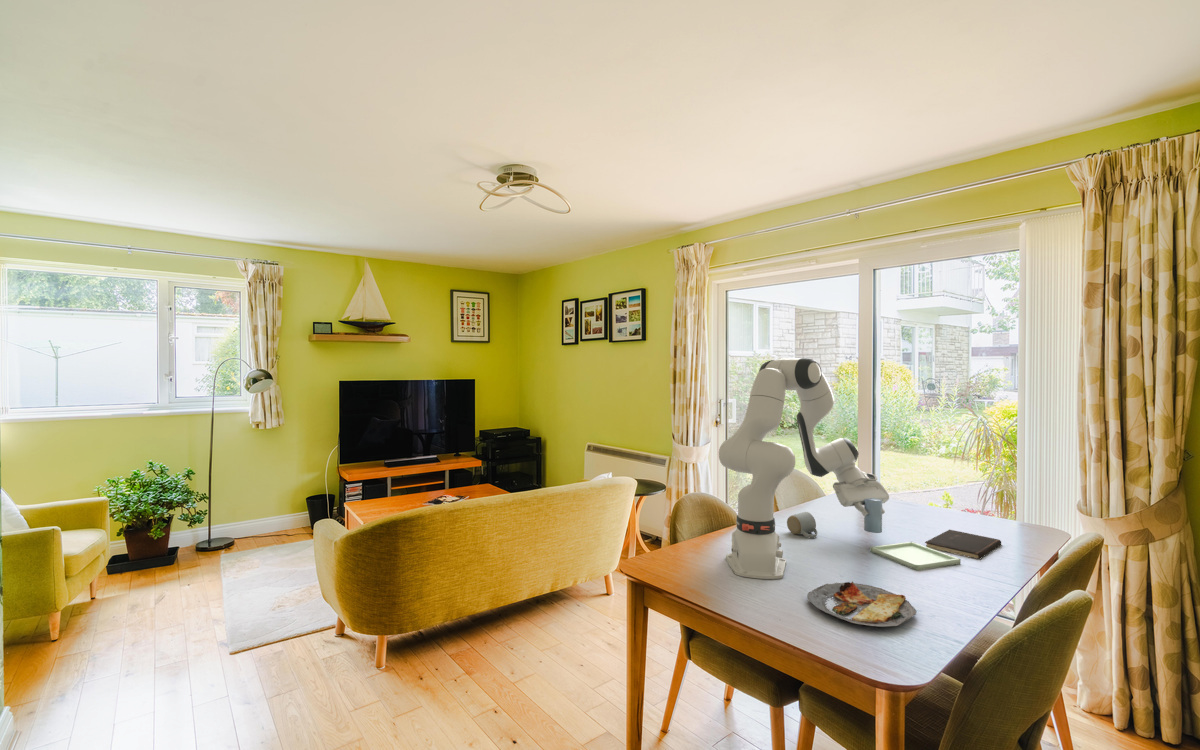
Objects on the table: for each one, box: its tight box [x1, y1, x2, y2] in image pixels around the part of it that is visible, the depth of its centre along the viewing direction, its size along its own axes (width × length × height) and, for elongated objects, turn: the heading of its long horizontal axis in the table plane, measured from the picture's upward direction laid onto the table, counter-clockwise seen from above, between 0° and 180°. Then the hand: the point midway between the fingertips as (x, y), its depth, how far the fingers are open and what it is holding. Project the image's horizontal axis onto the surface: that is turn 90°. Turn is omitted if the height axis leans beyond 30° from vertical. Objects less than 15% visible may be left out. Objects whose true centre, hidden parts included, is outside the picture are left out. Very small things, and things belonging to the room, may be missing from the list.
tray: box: [869, 541, 962, 571], centre depth 173 cm, size 18×18×2 cm
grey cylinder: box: [863, 498, 883, 534], centre depth 186 cm, size 6×6×11 cm
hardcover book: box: [924, 529, 1002, 560], centre depth 184 cm, size 16×23×2 cm
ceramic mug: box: [786, 511, 818, 539], centre depth 198 cm, size 11×8×8 cm
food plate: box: [806, 581, 917, 627], centre depth 136 cm, size 25×23×4 cm
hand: (874, 514), depth 186 cm, fingers closed on grey cylinder, 6 cm apart
